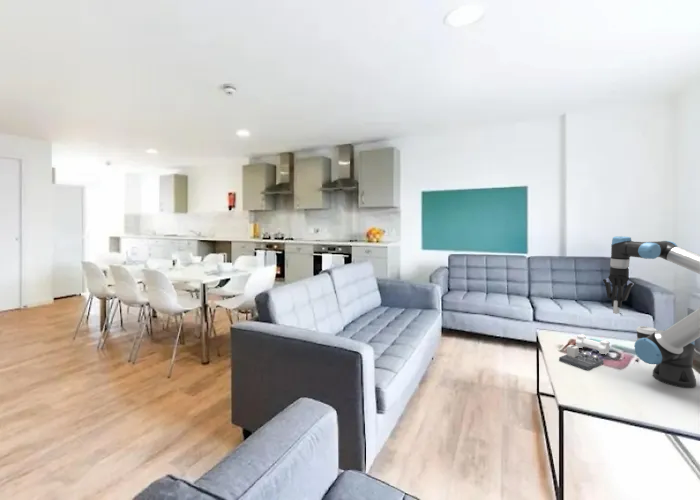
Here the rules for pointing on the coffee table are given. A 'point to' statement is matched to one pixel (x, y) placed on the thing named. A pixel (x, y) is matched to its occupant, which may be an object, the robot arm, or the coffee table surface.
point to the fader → (572, 351)
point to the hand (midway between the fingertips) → (615, 313)
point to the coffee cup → (644, 331)
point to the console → (582, 361)
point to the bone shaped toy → (592, 344)
